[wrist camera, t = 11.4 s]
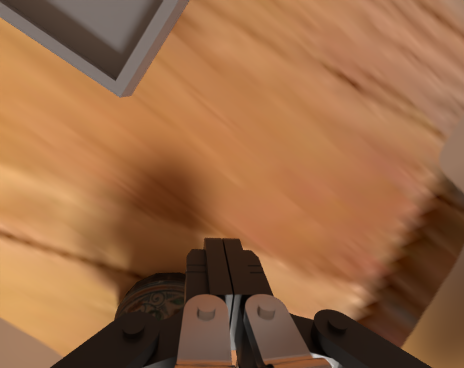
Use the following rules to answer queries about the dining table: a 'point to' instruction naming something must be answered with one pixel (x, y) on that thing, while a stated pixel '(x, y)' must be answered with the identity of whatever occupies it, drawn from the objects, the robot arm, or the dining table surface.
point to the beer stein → (155, 296)
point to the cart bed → (99, 34)
